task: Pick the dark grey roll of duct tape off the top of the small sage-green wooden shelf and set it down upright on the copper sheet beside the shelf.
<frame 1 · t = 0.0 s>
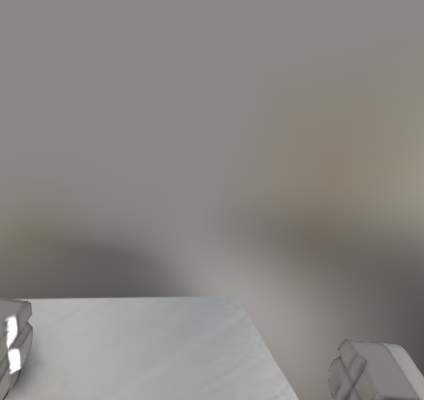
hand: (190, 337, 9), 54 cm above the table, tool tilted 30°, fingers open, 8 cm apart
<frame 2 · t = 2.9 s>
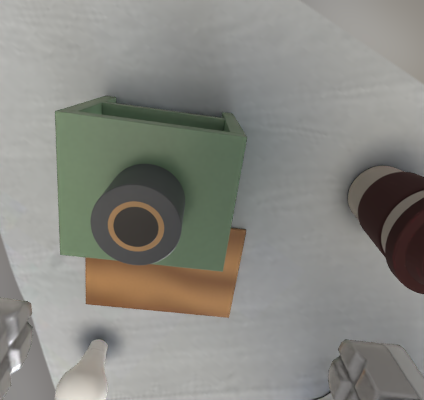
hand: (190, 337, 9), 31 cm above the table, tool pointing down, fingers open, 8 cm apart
shelf: (165, 157, 38), on the table
tape roll: (147, 199, 26), point 13 cm above the table, touching shelf
copper sheet: (162, 267, 44), on the table
lightbulb: (100, 340, 49), on the table
coffee cup: (374, 192, 41), on the table
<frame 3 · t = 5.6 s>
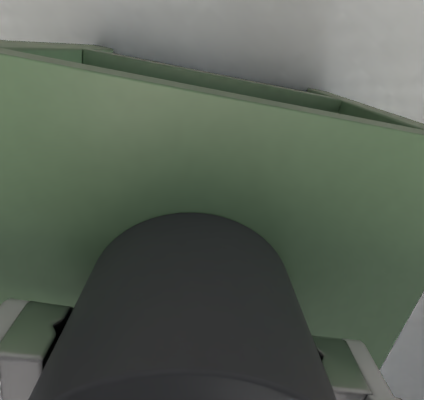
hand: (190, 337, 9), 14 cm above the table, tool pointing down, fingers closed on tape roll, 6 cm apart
shelf: (196, 164, 22), on the table
tape roll: (190, 300, 10), point 13 cm above the table, touching gripper, shelf
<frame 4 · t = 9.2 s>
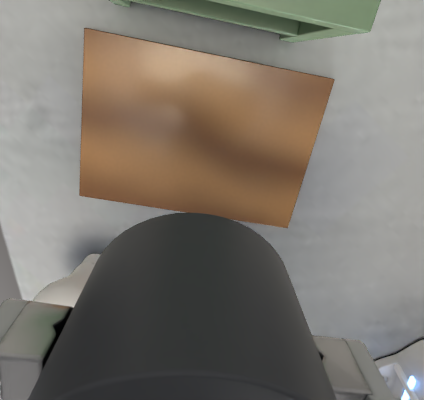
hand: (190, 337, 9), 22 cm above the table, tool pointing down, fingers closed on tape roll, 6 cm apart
tape roll: (190, 300, 10), point 21 cm above the table, touching gripper
copper sheet: (199, 140, 29), on the table
lightbulb: (99, 258, 34), on the table
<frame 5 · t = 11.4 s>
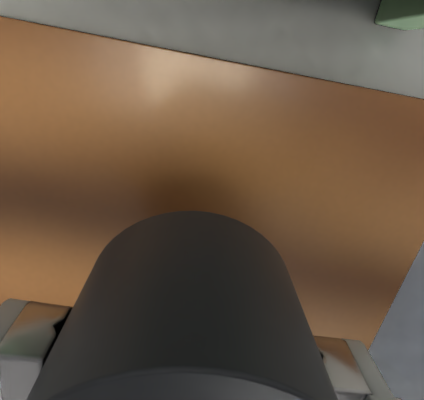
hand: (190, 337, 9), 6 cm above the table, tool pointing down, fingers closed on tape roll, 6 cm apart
tape roll: (191, 298, 10), point 5 cm above the table, touching gripper
copper sheet: (191, 232, 14), on the table
when the fingers open (2 cm above the table, at t = 13.2 s): tape roll stays where it is, resting on copper sheet.
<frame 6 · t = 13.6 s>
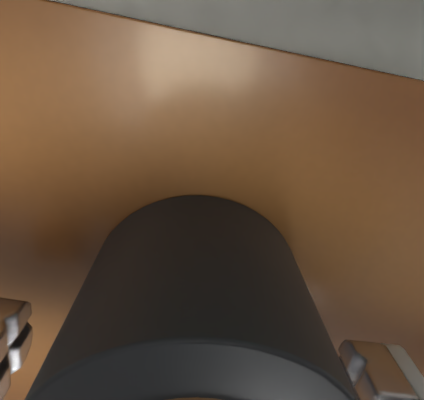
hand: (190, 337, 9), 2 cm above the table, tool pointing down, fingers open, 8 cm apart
tape roll: (196, 285, 10), resting on copper sheet
copper sheet: (194, 283, 10), on the table
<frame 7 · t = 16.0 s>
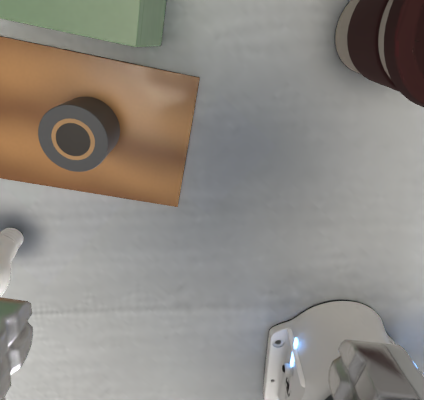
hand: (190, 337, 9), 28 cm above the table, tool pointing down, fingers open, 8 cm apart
tape roll: (89, 127, 33), resting on copper sheet
copper sheet: (90, 129, 34), on the table
lightbulb: (16, 232, 39), on the table
coffee cup: (371, 31, 31), on the table
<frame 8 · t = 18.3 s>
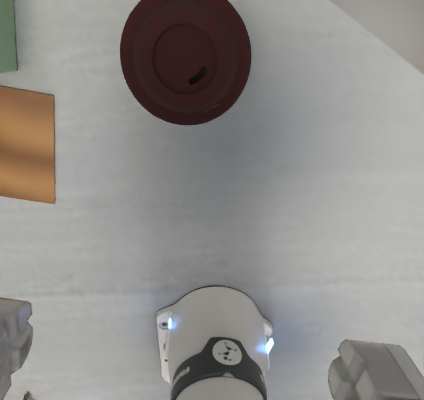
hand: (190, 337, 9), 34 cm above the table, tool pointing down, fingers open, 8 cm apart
coffee cup: (191, 56, 37), on the table
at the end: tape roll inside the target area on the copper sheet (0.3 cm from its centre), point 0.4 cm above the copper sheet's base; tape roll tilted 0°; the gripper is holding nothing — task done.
